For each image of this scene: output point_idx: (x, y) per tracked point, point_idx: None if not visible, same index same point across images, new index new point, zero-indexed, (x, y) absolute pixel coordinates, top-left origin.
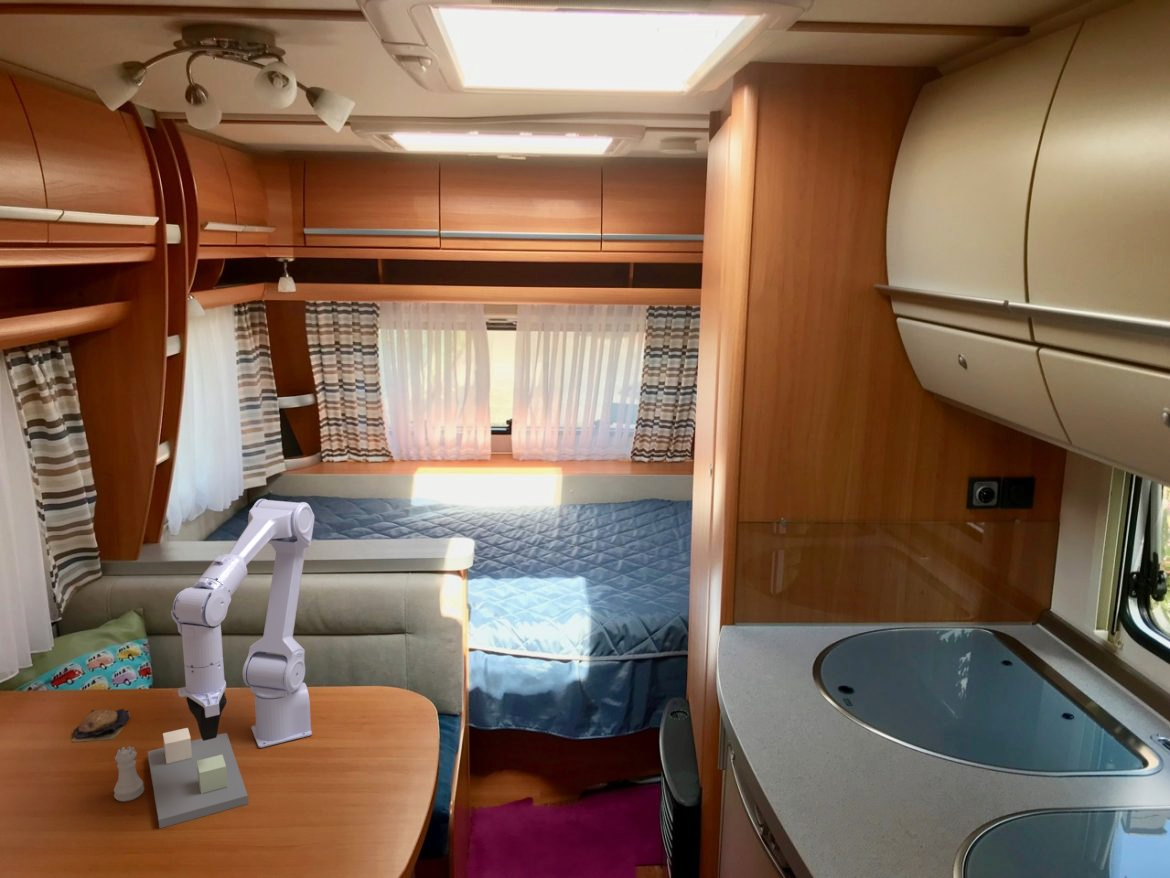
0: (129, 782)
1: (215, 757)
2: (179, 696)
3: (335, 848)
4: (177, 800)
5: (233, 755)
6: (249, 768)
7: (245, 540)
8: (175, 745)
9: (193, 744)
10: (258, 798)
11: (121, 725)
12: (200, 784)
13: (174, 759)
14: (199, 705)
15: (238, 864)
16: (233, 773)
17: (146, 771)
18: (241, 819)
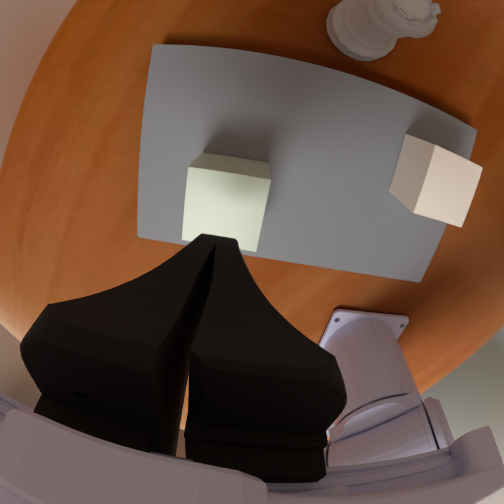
0: (349, 15)
1: (250, 231)
2: (17, 411)
3: (10, 282)
4: (209, 95)
5: (326, 266)
6: (279, 272)
7: None
8: (421, 168)
9: None
10: (154, 249)
11: None
12: (196, 158)
13: (403, 153)
14: (46, 387)
15: (6, 168)
16: None
17: (428, 99)
18: (101, 201)
